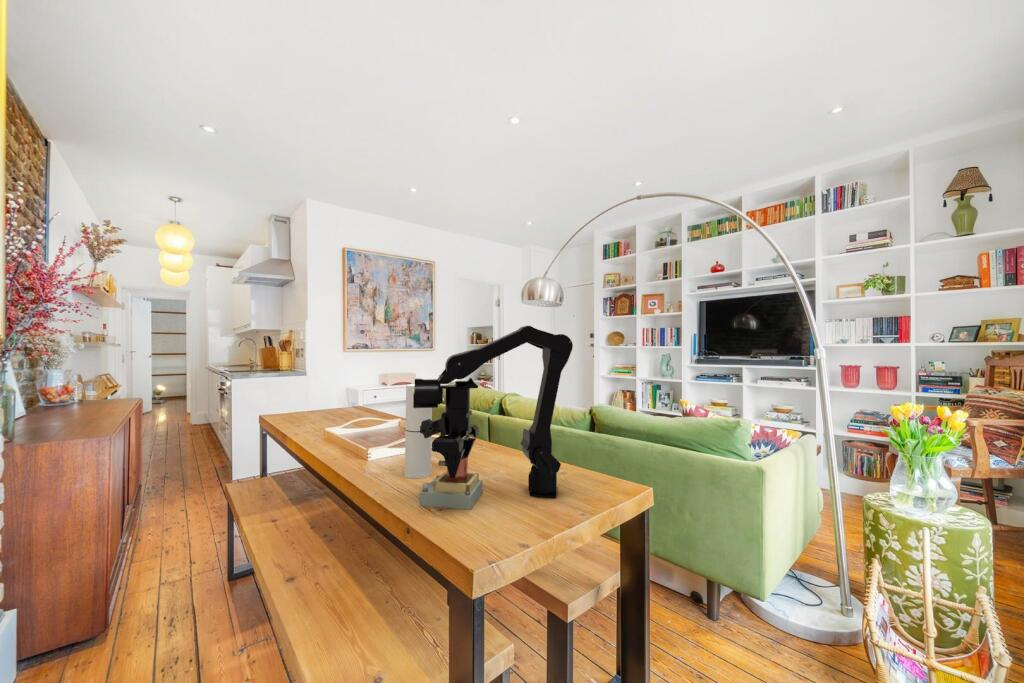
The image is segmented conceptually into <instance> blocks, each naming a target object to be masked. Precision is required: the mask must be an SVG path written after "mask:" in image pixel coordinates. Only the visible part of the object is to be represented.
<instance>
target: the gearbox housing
mask: <svg viewBox="0 0 1024 683" xmlns="http://www.w3.org/2000/svg"><path fill="white" fill-rule="evenodd" d="M479 475H480V474H479V473H476V472H467V484H466V483H451V482H446V479H447V470H445V471H443V473H442V474H441V475H440V474H439V475H435V476H436V477H434V479H432V480H431V481H430V482H423V483H422V486H421V488H422V489H421V490H420V491H419V493H418V494H419V497H418V502H419V503H418V504H419V505H418V506H419V507H431V508H445V509H446V508H447V509H456V510H457V509H458V510H469V511H470V510H472V509H473V508H474V506H475V504H476V503H477V501H478V500H479V498H480V496H481V495H482V494H483V479H479V478H480V477H479Z"/></svg>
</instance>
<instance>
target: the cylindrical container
mask: <svg viewBox="0 0 1024 683" xmlns="http://www.w3.org/2000/svg"><path fill="white" fill-rule="evenodd" d="M405 386H406V387H405V436H404V438H405V441H404V442H405V444H404V446H405V447H404V448H405V449H404V451H405V452H404V453H405V454H404V455H405V456H404V476H405V477H406V478H409V479H424V478H427V477H430V476H431V475H432V436H429V437H428V438H424V435H423V434H422V433H420V426H421V422H422V421H425V420H428V419H430V420H431V421H433V419H432V418H433V415H432V414H433V408H413V394H414V387H415V383H411V384H406V385H405Z"/></svg>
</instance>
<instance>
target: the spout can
mask: <svg viewBox="0 0 1024 683" xmlns="http://www.w3.org/2000/svg"><path fill="white" fill-rule="evenodd" d="M468 462H469V457H468V458H467V457H465V456H462V459H461V462H460V465H459V468H458V471H457V473H456V476H455V478H450V476H449V472H448V469H447V468H446V471H447V479H446V482H451V483H466V484H467V473H468V467H469V466H468ZM437 463H438V464H437V466H441V467H447V465H446V462H445V460H441V459H439V460H438V462H437Z"/></svg>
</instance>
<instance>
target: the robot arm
mask: <svg viewBox="0 0 1024 683" xmlns="http://www.w3.org/2000/svg"><path fill="white" fill-rule="evenodd" d="M524 344H529V345H531V346H533V347H535V348H539V349H541V351H542V357H541V359H542V364H543V371H542V376H541V381H540V386H539V391H538V396H537V401H536V404H535V405H536V406H535V411H534V416H533V420H532V424H531V425H530V428H529V429H527V428H523V431H522V439H521V442H520V446H522V447H521V449H522V450H521V451H522V453H523V454H524V456H525V457H526V458H527V460H528V461H529V462H530V465H531V466H530V467H531V468H530V471H529V472H528V486H527V487H528V488H527V489H528V490H527V491H528V492H529V496H530V497H540V498H555V499H556V498H557V496H558V488H559V487H558V473H559V471H560V469H561V465H562V464H561V462H560V461H559V460H558V458H555V456H554V455H553V452H552V450H553V449H552V447H553V441H552V440H553V438H552V433H551V432H552V431H551V425H552V421H553V415H554V411H555V405H556V401H557V396H558V390H559V385H560V380H561V375H562V371H563V369H564V368H565V367H566V364H568V361H569V359H570V358H571V357H570V356H571V354H572V351H573V348H574V346H573V345H574V344H573V341H572V340H571V338H570V337H569V336H567V335H566V334H563V333H559V334H556V333H555V334H554V333H552V332H548V331H544V330H541V329H538V328H536V327H533V326H531V325H524V326H520V327H519V328H518V329H516V330H514V331H512V332H510V333H508V334H506V335H503V336H502V337H499V338H497V339H495V340H493V341H491V342H489V343H486V344H484V345H483V346H480V347H478V348H474V349H470V350H465V351H462V352H459V353H454V354H452V355H450V356H449V357H448V358H447V359H446V361H445V364H444V365H445V366H444V367H445V368H444V370H443V371H442V372H441V373H440V374H439V375H438V377H437V379H436V378H435V379H434V378H433V379H432V378H431V379H423V378H414V384H415V387H414V394H413V408H432V409H434V408H435V409H437V408H438V407H439V405H441V404H443V402H444V403H445V409H444V410H445V411H443V412H442V413H441V416H440V418H437V419H434V420H433V419H432V421H431V420H430V419H428V420H425V421H422V422H421V426H420V433H422V434H423V435H424V438H428V437H429V436H431V437H432V436H434V435H437V434H439V436H437V437H436V438H434V439H433V441H431V452H433V453H438V454H440V455H442V457H443V458H444V461H445V462H446V465H447V466H446V470H447V469H448V472H449V476H450V478H455V476H456V473H457V471H458V468H459V465H460V462H461V459H462V456H465V457H467V458H468V459H469V456H470V454H471V451H472V450H473V447H474V444H475V442H476V440H477V437H479V436H480V433H479V432H480V431H479V430H480V428H479V427H478V425H477V424H476V423H475V424H474V423H470V416H471V415H472V414H473V412H472V409H471V408H470V404H471V403H470V402H471V400H470V398H471V395H470V394H471V392H470V391H471V389H479V385H478V384H477V383H476V382H475V381H474V380H473V378H472V377H469V376H470V375H472V373H474V372H476V371H477V370H478V369H479V368H481V367H482V366H483V365H484V364H485V363H487V362H488V361H489V362H490V361H491V360H493V359H495V358H497V357H500V356H502V355H504V354H505V353H508V352H510V351H512V350H514V349H516V348H518V347H520V346H523V345H524ZM467 377H469V378H468V379H467V380H463V379H466V378H467ZM455 380H456V381H455ZM453 381H454V384H450V383H452V382H453ZM449 384H450V385H449ZM444 389H445V401H444ZM438 409H439V408H438ZM470 409H471V410H470ZM471 436H473V437H471Z"/></svg>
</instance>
